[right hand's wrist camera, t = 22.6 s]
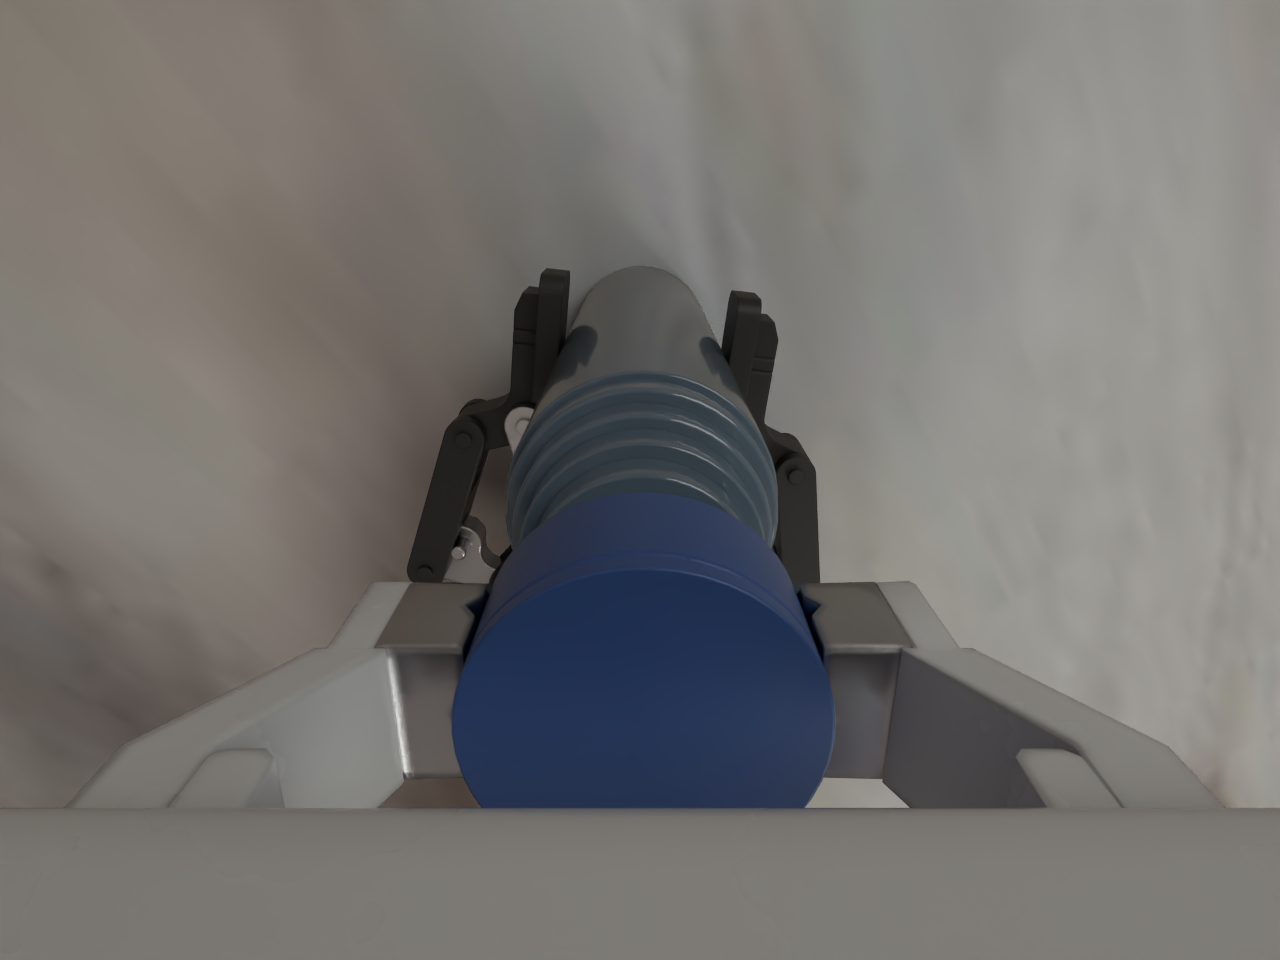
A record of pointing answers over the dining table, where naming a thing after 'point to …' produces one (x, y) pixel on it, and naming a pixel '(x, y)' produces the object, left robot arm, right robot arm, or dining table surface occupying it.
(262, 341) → the dining table surface
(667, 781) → the cap
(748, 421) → the bottle
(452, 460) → the left robot arm
